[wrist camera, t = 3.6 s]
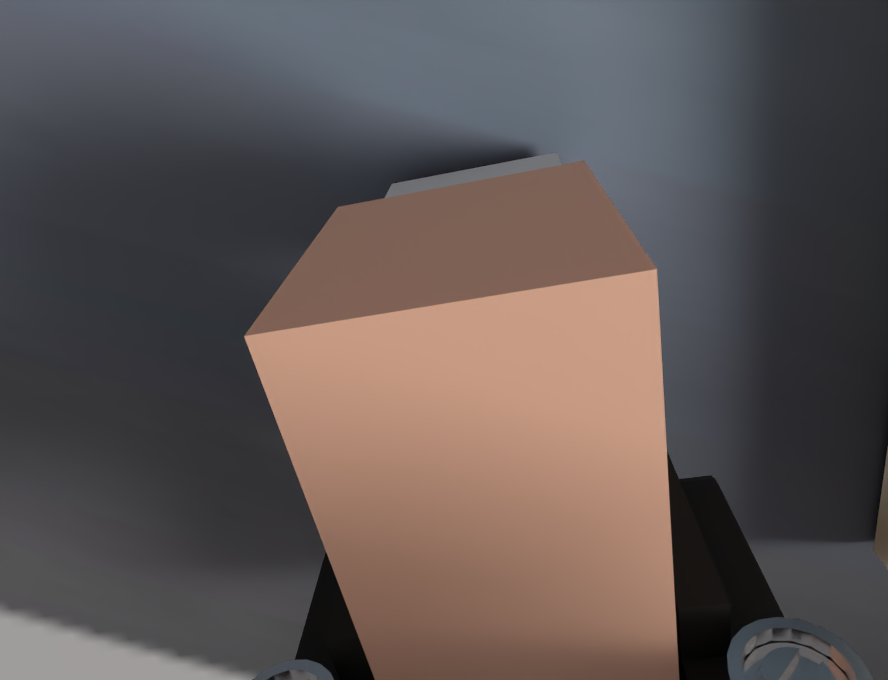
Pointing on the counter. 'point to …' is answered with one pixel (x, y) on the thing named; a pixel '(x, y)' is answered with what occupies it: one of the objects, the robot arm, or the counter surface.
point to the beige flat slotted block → (883, 521)
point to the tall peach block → (483, 426)
